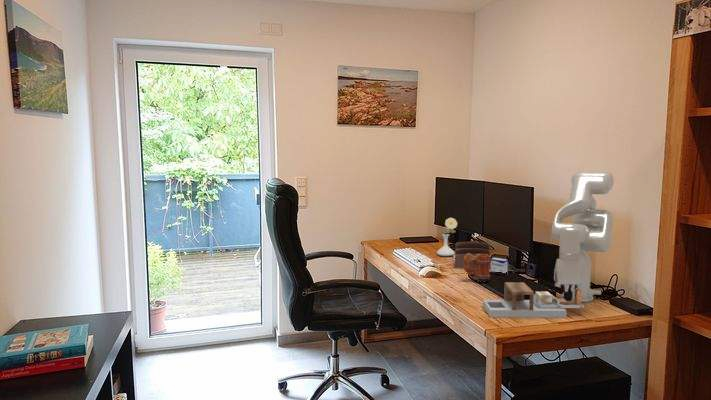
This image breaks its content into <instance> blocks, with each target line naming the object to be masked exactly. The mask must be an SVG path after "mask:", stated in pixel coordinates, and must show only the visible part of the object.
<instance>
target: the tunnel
mask: <svg viewBox="0 0 711 400" xmlns="http://www.w3.org/2000/svg"><path fill="white" fill-rule="evenodd" d="M503 290H504V294H503V295H504V296H503V300H505V301H512V310H516V301H524V300H525V295H528V296H529V299H528V300H529V310H533V301H534V295H535V293H534V291H533V289H531V288H530V287H529V286H528V285H527V284H526V283H525V282H522V281H521V282H517V281H516V282H510V281H507V282H505V281H504V289H503Z"/></svg>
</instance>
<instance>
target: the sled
mask: <svg viewBox="0 0 711 400" xmlns="http://www.w3.org/2000/svg"><path fill="white" fill-rule="evenodd" d="M550 294H551V293H550ZM551 295H552V304H541V300H540V299H539V298H538V297H536V296H535V294H534V301H533V303H534V304H535V305H536V306H537V307H538V308H564V309H584V307H585V305H584V304H583V303H582V302H581V299H582V290H580V289H575V296H574V299H571V301H566V300H565V299H564V298H557V297H556V296H554V295H553V294H551ZM560 303H563V304H560ZM565 303H568V304H565ZM569 303H572V304H569Z"/></svg>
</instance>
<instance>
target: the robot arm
mask: <svg viewBox="0 0 711 400" xmlns="http://www.w3.org/2000/svg"><path fill="white" fill-rule="evenodd" d="M614 178H615V177H614V175H613V173H611V172H608V171H607V172H606V171H581V172H575V173H574V174H572V176H571V188H570V189H571V190H570V194H569V198H568V203H566V204H564V205H563V206H562V207H561V208H559V209H558V210H557V212H556V213H555V214H554V217H553V220H552V221H553V222H552V227H551V230H550V231H551V236H552V238H553V239H554V240H557V241H559V249H558V250H559V251H558V253H559V254H558V258H556V261H555V264H554V265H555V267H554V272H553V273H554V274H553V280H554V286H555V287H557V288H561V290H563V293H562V295H561V297H563V299H565V300H566V301H571V299H574V296H575V289H580V290H582V299H581V303H585V302H586V303H588V302H593V300H594V295H595V296H596V295H599V296H601V295H602V290H600V289H599V290H597V289H595V288H594V289H592V288H591V271H592V270H591V268H592V261H591V258H590V256H589V254H588V253H587V252H595V253H606V252H608V251H609V249H610V246H611V240H612V232H613V221H614V218H613V214H612V212H611V211H609V210H607V209H599V208H597V209H596V207H597V200H596V199H595V198H594V196H593V195H608V194H609V193H610V191H611V190H612V189H613V187H614V181H615V179H614ZM569 217H573V218H572V223H571V222H570V223H569V222H563V221H564V220H565V219H568V218H569Z"/></svg>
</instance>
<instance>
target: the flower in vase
mask: <svg viewBox="0 0 711 400" xmlns="http://www.w3.org/2000/svg"><path fill="white" fill-rule="evenodd" d="M444 225H445V227H446V229H447V228H448V229H449V230H448V231H446V230H444V229H442V232H444V233H442V234H441V235H442V238H443V246H441V247H440V248H439V249H438V250H437V251H436V254H437V255H438V256H441V257H451V256H454V255H455V250H453V249H452V248H450V246H449V245H448V240H449V236H450V234H449V232H450V233H451V234H454V233H456V232H457V231H456V230H455V228H457V226H458V222H457V220H456V218H454V217H449V218H447V219H445V222H444Z"/></svg>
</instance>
